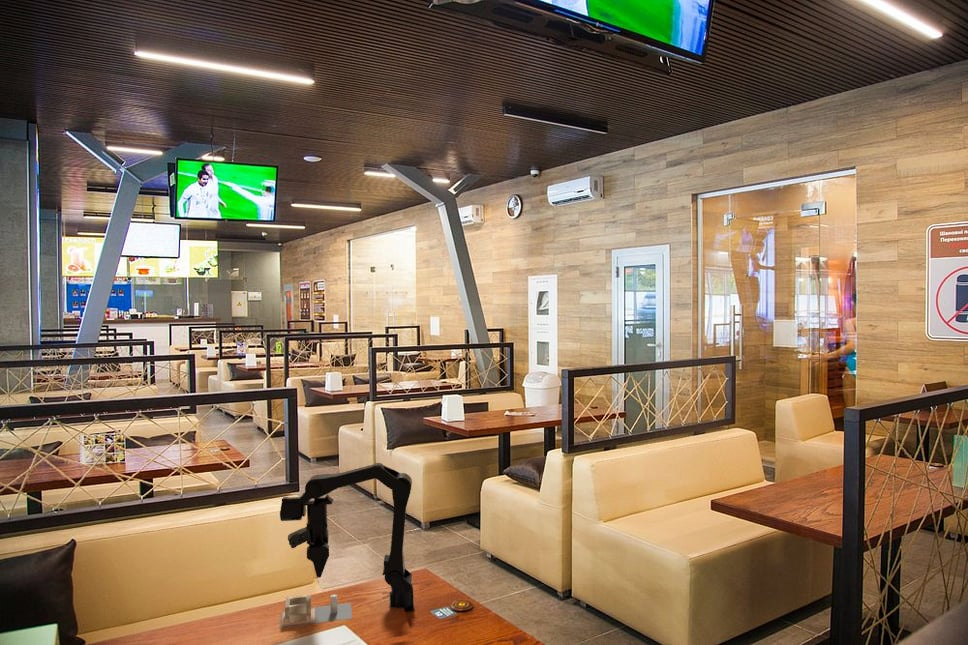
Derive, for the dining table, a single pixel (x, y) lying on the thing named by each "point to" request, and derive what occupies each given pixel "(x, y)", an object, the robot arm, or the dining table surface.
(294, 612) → the beige square hollow block
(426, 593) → the dining table surface
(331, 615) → the stand board
